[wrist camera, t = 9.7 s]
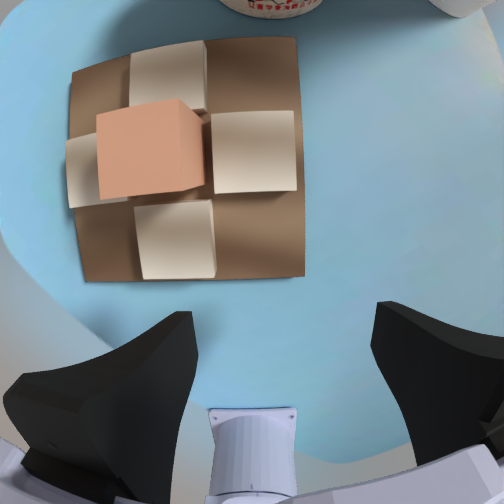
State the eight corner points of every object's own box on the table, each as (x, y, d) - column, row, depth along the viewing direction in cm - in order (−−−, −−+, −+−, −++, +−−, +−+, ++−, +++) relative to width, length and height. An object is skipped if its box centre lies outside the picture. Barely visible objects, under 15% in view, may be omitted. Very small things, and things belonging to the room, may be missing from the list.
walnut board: (302, 271, 20) (308, 285, 18) (92, 276, 20) (76, 288, 18) (293, 42, 16) (298, 27, 13) (79, 75, 16) (61, 67, 14)
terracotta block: (206, 184, 17) (183, 190, 12) (145, 189, 18) (100, 199, 12) (203, 120, 16) (178, 98, 11) (142, 129, 16) (96, 114, 11)
